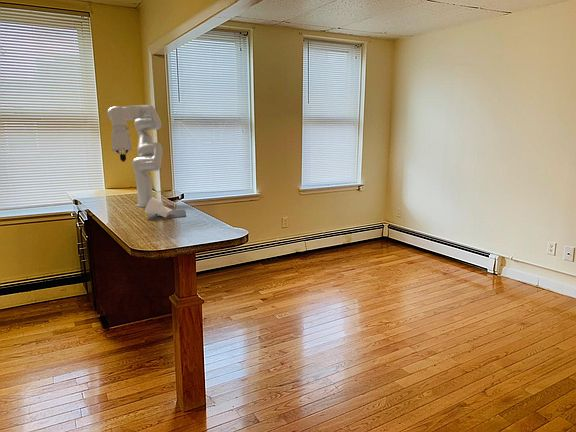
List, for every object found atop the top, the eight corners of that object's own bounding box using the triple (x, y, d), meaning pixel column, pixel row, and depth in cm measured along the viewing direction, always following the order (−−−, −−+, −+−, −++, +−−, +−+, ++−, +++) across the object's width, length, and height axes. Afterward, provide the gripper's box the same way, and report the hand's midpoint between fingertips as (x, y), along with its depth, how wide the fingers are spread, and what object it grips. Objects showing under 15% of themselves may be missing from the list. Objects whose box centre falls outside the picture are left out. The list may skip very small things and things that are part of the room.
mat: (149, 213, 254) (149, 212, 254) (184, 210, 259) (184, 209, 258) (148, 220, 235) (147, 219, 235) (185, 216, 240) (185, 215, 239)
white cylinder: (143, 213, 237) (163, 222, 237) (149, 198, 235) (169, 208, 235) (149, 210, 245) (168, 219, 246) (155, 196, 243) (174, 205, 244)
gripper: (134, 128, 250) (137, 160, 254) (106, 129, 246) (110, 161, 250) (133, 128, 243) (136, 161, 247) (104, 129, 239) (108, 162, 243)
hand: (123, 161), depth 248 cm, fingers closed
